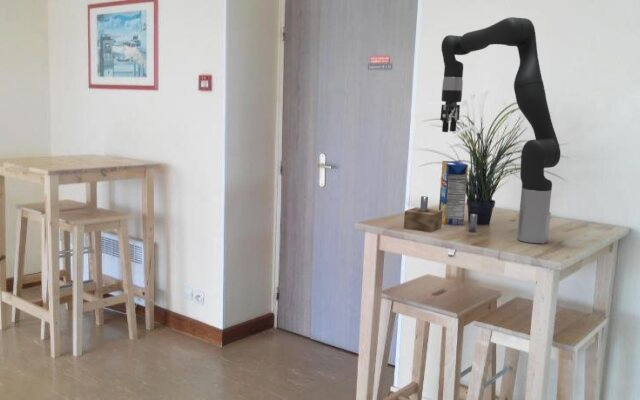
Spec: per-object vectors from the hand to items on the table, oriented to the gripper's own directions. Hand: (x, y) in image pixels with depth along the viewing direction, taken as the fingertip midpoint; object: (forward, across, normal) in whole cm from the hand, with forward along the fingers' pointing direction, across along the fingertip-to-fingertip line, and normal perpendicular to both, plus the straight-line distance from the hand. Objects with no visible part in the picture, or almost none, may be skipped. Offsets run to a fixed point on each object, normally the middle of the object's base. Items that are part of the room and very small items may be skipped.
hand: (449, 131), depth 240 cm
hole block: (+32, -31, -4) cm, 45 cm away
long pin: (+32, -31, -4) cm, 45 cm away
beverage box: (+32, -14, -8) cm, 36 cm away
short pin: (+32, -25, -20) cm, 45 cm away
